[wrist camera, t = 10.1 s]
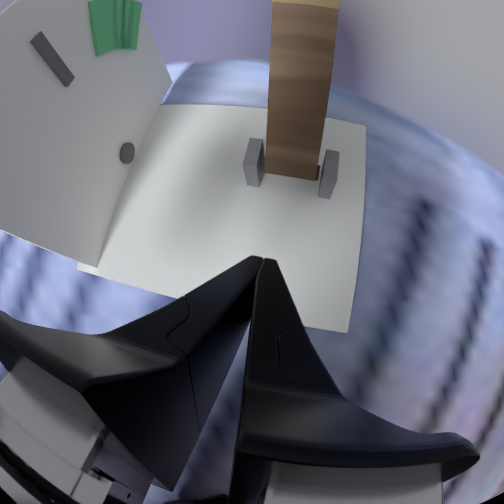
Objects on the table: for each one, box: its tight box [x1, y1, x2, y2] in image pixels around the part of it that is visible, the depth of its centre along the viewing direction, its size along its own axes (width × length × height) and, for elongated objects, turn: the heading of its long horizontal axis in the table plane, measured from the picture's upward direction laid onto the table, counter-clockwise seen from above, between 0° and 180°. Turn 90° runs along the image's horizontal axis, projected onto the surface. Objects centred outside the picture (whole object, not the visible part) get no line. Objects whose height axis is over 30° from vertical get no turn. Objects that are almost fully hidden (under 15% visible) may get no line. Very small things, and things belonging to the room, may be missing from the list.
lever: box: [263, 0, 340, 181], centre depth 12 cm, size 2×3×12 cm, turn 78°
